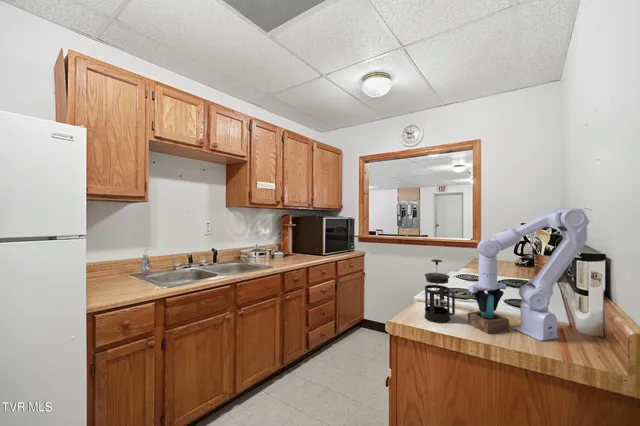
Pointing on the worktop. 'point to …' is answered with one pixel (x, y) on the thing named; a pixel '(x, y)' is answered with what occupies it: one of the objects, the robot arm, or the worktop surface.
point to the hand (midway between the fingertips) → (487, 310)
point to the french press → (436, 307)
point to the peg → (489, 308)
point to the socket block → (488, 323)
